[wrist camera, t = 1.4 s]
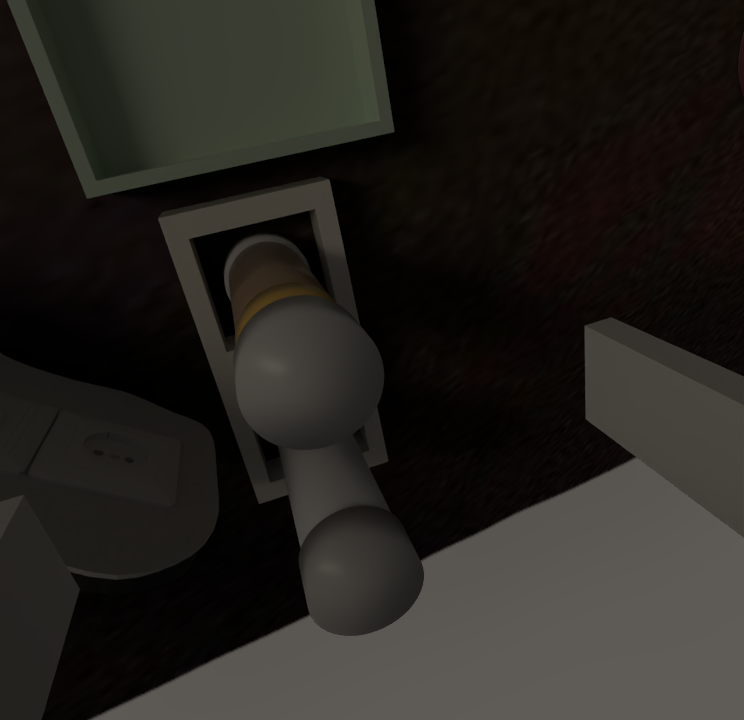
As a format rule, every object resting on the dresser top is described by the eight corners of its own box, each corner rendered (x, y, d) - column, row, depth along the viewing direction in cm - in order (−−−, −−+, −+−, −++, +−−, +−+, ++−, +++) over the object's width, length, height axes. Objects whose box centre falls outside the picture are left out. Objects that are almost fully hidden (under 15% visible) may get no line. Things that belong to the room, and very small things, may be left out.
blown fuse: (237, 319, 30) (260, 468, 16) (212, 242, 28) (215, 338, 14) (313, 299, 30) (395, 425, 17) (294, 222, 28) (369, 296, 15)
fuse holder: (256, 480, 34) (259, 504, 32) (162, 212, 26) (157, 218, 24) (377, 441, 35) (388, 461, 33) (320, 176, 28) (329, 179, 26)
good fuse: (276, 445, 33) (322, 651, 20) (257, 385, 31) (293, 567, 18) (344, 424, 34) (431, 609, 21) (329, 364, 32) (414, 523, 19)
